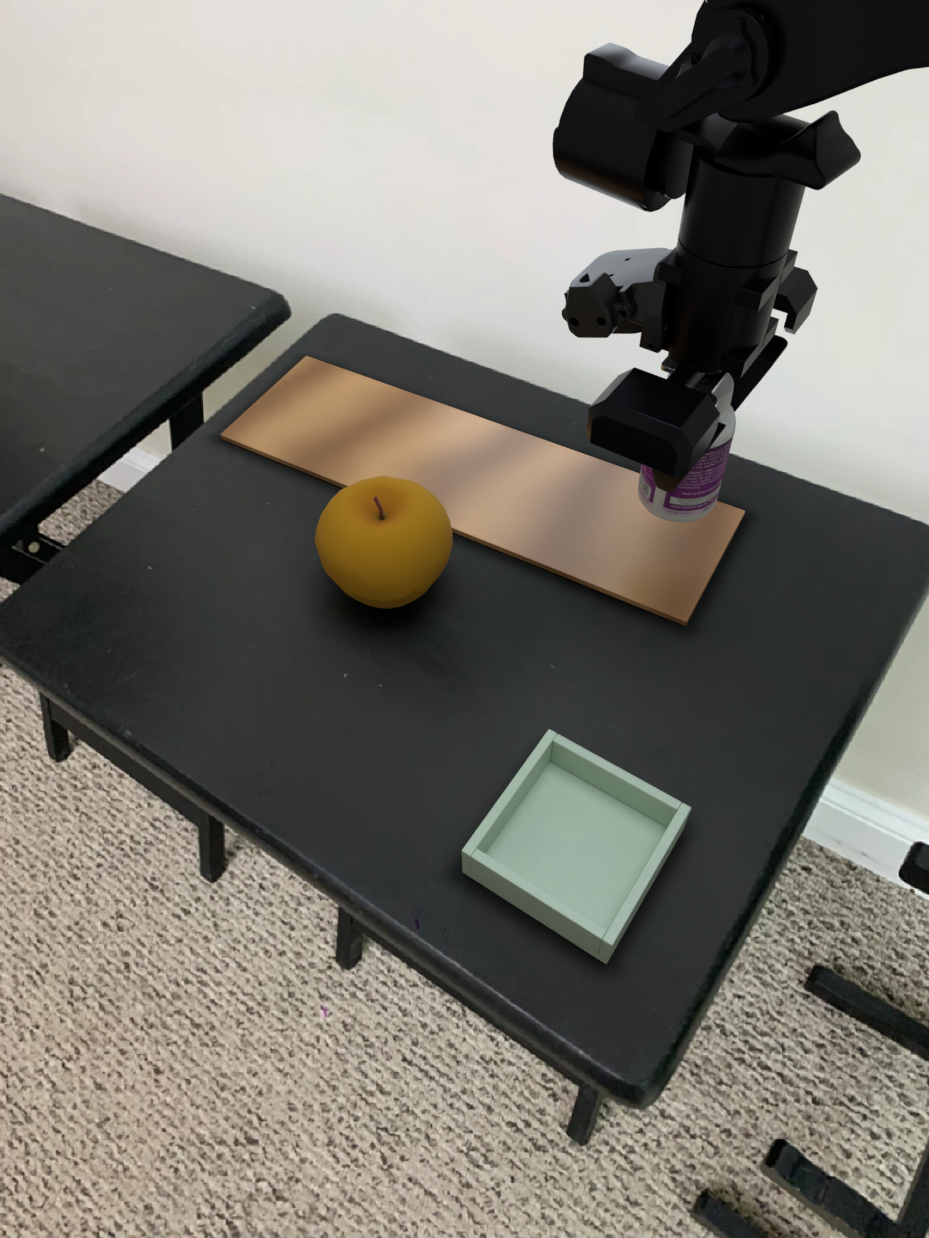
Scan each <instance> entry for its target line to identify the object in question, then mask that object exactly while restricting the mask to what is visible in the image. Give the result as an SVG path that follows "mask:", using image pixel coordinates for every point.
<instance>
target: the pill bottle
mask: <svg viewBox="0 0 929 1238" xmlns="http://www.w3.org/2000/svg"><path fill="white" fill-rule="evenodd" d="M670 375H671V373H668V374H667V376H666V379H667V378H668V377H669V376H670ZM733 389H734V382H733V379H732V377H731V375H730V374H728V375H727V376H726V377H725V379H724V380H723V381H722V382H721V384H720V385H719V386H718V387H717V389H716V390H715V391H714V392H713V395H715V396H716V398H717V400H718V402H717V406H716V408H717V409H718V411H719V413H720V417H719V421H718V422H720V423H723V424H726V427H725V429H724V430H723V432H722V433H721V434H720V435H719V437H718V438H717V439H716V441H715V442H714V443H713V445H712V446H711V447H710V449H709V450H708V451H707V452H706V453H705V454H704V455H703V457H702V458H701V459H700V460H699V461H698V462H697V464H696V465H695V466H694V467H693V468H692V469H691V471H690V472H689V473H688V475H686V476H685V478H684V479H683V480H682V481H681V482H680V483H679V485H678V486H677V487H676V488H675V489H674V491H673V492H672V493H668V492H666V491H663V490H661V489H659V488H657V487H656V484H655V480H654V476H653V473H652V469H651V468H650V467H648V466H645V465H643V464H640V471H639V473H640V476H639V483H638V496H639V499H640V501H641V503H642V504H643V505H644V507H645V508H646V509H647V510H648V511H649V512H650V513H651V514H653V515H655V516H656V517H659V518H661V519H663V520H667V521H672V522H690V521H695V520H697V519H700V518H703V517H704V516H705V515H707V514H708V513H709V512H710V511H711V510H712V509H713V507H714V506H715V504H716V501H718V498H719V494H720V491H721V486H722V482H723V478H724V474H725V470H726V467H727V463H728V459H729V456H730V455H729V454H730V451H731V447H732V443H733V439H734V436H735V432H736V426H737V417H736V412H735V413H734V410H733V408H732V406H731V405H730V403H731V399H732V394H733Z"/></svg>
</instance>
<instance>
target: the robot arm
mask: <svg viewBox="0 0 929 1238" xmlns="http://www.w3.org/2000/svg"><path fill="white" fill-rule="evenodd" d="M690 39H691V40H690V42H689V44H687V46H686V47H685V48H684V49H683V50H682V51H681V53H680V54H679V55H678V56H677V57H676V58H675V59H674V60H673V62H672V63H671V64H670V65H667V64H664V63H662V62H659V61H656V60H653V59H649V58H646V57H644V56H641V55H638V54H636V52H634V51H632V50H631V49H629V48H628V47H626V46H623V45H620V44H616V43H613V42H607V43H605V44H603V45H601V46H599V47H596V48H595V49H593V50H591V51H589V52H587V53H586V54H585V55H583V62H582V63H583V65H582V66H583V67H582V77H581V78H580V79H579V80H578V82H577V83H576V85H575V86H574V87H573V89H572V90H571V92H570V94H569V96H568V98H567V100H566V101H565V104H564V106H563V108H562V112H561V114H560V117H559V119H558V120H559V122H558V126H556V127H555V128H554V130H553V135H552V143H551V144H552V145H551V146H552V159H553V162H554V165H555V166H554V167H555V168H556V170H557V172H558V174H559V175H560V176H561V177H563V178H564V179H566V180H568V181H571V182H573V183H575V184H578V185H580V186H583V187H585V188H588V189H591V191H592V190H593V191H595V192H597V193H600V194H602V195H605V196H607V197H609V198H611V199H614V200H617V201H619V202H622V203H624V204H627V205H628V206H631V207H633V208H636V209H639V210H641V211H644V212H648V213H653V212H656V211H659V210H661V209H663V208H664V207H665V206H667V204H668V203H669V202H670V201H672V200H677V199H680V198H682V196H684V199H683V205H682V211H681V217H680V224H679V228H678V229H679V230H678V235H677V241H676V246H675V247H674V248H672V249H669V248H667V247H652V248H651V247H650V248H633V249H617V250H611V251H607V252H605V253H602V254H600V255H599V256H597V257H596V258H595V259H593V260H592V261H591V262H590V263H589V264H588V265H587V266H586V267H585V268H584V269H583V270H582V271H580V273H579V274H577V276H575V277H574V278H573V279H572V280H571V282H570V284H569V286H568V289H567V290H566V291H565V292H564V293H563V296H564V299H565V300H564V301H565V306H564V307H563V309H562V310H561V317H562V319H563V320H564V321H565V322H566V323H567V327H568V330H569V332H570V333H571V334H572V335H573V336H575V337H576V338H579V339H607V338H609V337H610V336H611V335H634V334H640V338H639V343H638V344H639V345H638V346H639V348H641V349H645V350H647V351H650V352H653V353H656V354H660V353H661V352H662V351H665V352H668V353H667V356H666V357H665V358H664V359H663V361H662V362H661V364H660V371H663V372H665V373H668V374H669V373H671V375H670V376H669V377H668V378H667V377H666V378H665V377H662V376H659V375H656V374H654V373H651V372H648V371H646V370H643V369H642V368H641V369H640V368H638V367H635V366H634V367H632V368H630V369H628V370H626V371H624V372H622V373H620V374H618V375H617V376H616V377H615V378H614V379H613V380H612V381H611V382H610V383H609V385H607V387H606V388H605V389H604V390H603V391H602V392H601V393H600V394H599V396H597V398H596V399H595V400H594V401H593V402H592V403H591V404H590V405H589V407H588V412H587V421H586V431H585V435H586V437H587V440H588V442H589V444H591V445H594V446H595V447H599V448H600V449H604V450H606V451H609V452H612V453H614V454H616V455H618V456H621V457H623V458H626V459H628V460H631V461H633V462H635V463H638V464H640V465H642V464H643V465H645V466H648V467H650V468H651V469H652V473H653V476H654V480H655V484H656V487H657V488H659V489H661V490H663V491H666V492H668V493H672V492H673V491H674V489H675V488H676V487H677V486H678V485H679V483H680V482H681V481H682V480H683V479H684V478H685V476H686V475H688V473H689V472H690V471H691V469H692V468H693V467H694V466H695V465H696V464H697V462H698V461H699V460H700V459H701V458H702V457H703V455H704V454H705V453H706V452H707V451H708V450H709V449H710V447H711V446H712V445H713V443H714V442H715V441H716V439H717V438H718V437H719V435H720V434H721V433H722V432H723V430H724V429H725V427H726V424H723V423H720V422H718V421H719V417H720V413H719V411H718V409H717V408H716V406H717V402H718V400H717V398H716V396H715V395H713V392H714V391H715V390H716V389H717V387H718V386H719V385H720V384H721V382H722V381H723V380H724V379H725V377H726V376H727V375H728V374H730V375H731V377H732V379H733V382H734V389H733V394H732V399H731V403H730V405H731V406H732V408H733V410H734V413H735V414H736V412H737V410H738V409H739V408H740V407H741V405H742V404H743V403H744V401H745V400H746V399H747V398H748V397H749V395H750V394H751V393H752V392H753V390H754V389H755V388H756V387H757V386H758V385H759V384H760V382H761V381H762V380H763V378H765V376H766V375H767V373H768V372H769V371H770V370H771V369H772V367H773V366H774V364H775V363H776V362H777V361H778V359H779V358H780V357H781V355H782V354H783V353H784V352H785V350H786V349H787V347H788V346H789V341H788V340H787V339H786V338H785V337H783V336H780V335H778V334H776V332H777V329H778V325H779V322H780V318H778V317H775V316H772V312H773V310H775V311H779V312H782V313H785V314H786V317H785V322H784V324H783V330H784V332H785V333H788V334H791V335H796V333H797V332H798V330H799V329H800V328H801V327H802V325H803V324H804V323H805V321H806V320H807V319H808V318H809V316H810V315H811V311H812V308H813V306H814V302H815V299H816V296H817V292H818V290H819V288H818V286H817V284H816V282H815V281H814V279H813V277H812V276H811V274H810V272H809V270H808V269H804V268H801V267H797V266H795V265H796V260H797V257H798V254H799V251H798V250H795V249H791V248H790V246H791V243H792V239H793V236H794V231H795V228H796V225H797V220H798V217H799V213H800V209H801V206H802V203H803V198H804V195H805V191H806V188H809V189H811V190H814V191H821V190H823V189H824V188H825V187H827V186H828V185H829V184H832V182H834V181H835V180H837V179H838V178H839V177H840V176H842V175H843V174H845V173H846V172H848V171H849V170H851V169H852V168H853V167H854V166H856V165H858V164H859V163H860V161H861V158H862V153H861V151H860V149H859V147H858V146H857V144H856V143H855V141H854V139H853V138H852V137H851V135H849V134H848V132H846V130H845V128H844V127H843V125H842V123H841V120H840V115H839V113H838V112H837V110H834V109H832V110H829V111H827V112H825V113H824V114H823V115H821V116H819V117H818V118H816V119H815V120H813V121H812V122H808V121H805V120H802V119H799V118H796V117H794V116H791V115H788V114H787V113H790V112H793V111H797V110H801V109H804V108H806V107H811V106H813V105H816V104H819V103H821V102H824V101H827V100H829V99H831V98H832V99H833V98H835V97H837V96H840V95H842V94H844V93H847V92H849V91H852V90H854V89H857V88H859V87H862V86H865V85H867V84H870V83H873V82H875V81H877V80H879V79H880V80H881V79H883V78H886V77H890V76H893V75H895V74H898V73H902V72H905V71H909V70H917V69H926V68H929V0H703V1H702V3H701V5H700V7H699V9H698V11H697V12H696V15H695V19H694V23H693V28H692V31H691V35H690Z"/></svg>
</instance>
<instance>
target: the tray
mask: <svg viewBox="0 0 929 1238" xmlns="http://www.w3.org/2000/svg"><path fill="white" fill-rule="evenodd" d="M691 811H692V807H691V806H690V805H688V804H686V803H685V802H682V801H680V800H679V799H677V798H675V797H673V796H671V795H670V794H668V793H667V792H664V791H663V790H660V789H659V788H657V787H655V786H653V785H652V784H650V783H648V782H646V781H645V780H643V779H640V778H639V777H637V776H635V775H634V774H632V773H630V772H628V771H627V770H624V769H622V768H621V767H619V766H617V765H615V764H613V763H612V762H610V761H608V760H606V759H604V758H603V757H601V756H599V755H598V754H596V753H595V752H592V751H590V750H588V749H587V748H584V747H583V746H581V745H579V744H578V743H576V742H574V741H572V740H571V739H569V738H567V737H565V736H563V735H561V734H559V733H557V732H556V731H554V730H552V729H550V728H549V729H547V731H546V732H545V733H544V735H543V736H542V738H541V739H540V741H539V742H538V744H537V745H536V746H535V747H534V749H533V750H532V752H531V753H530V755H529V756H528V757H527V759H526V760H525V762H524V763H523V764H522V766H521V767H520V769H519V770H518V771H517V773H516V774H515V775H514V777H513V778H512V779H511V780H510V782H509V784H508V785H507V786H506V788H505V789H504V791H503V792H502V793H501V795H500V796H499V798H498V799H497V800H496V801H495V803H494V804H493V806H492V807H491V809H490V810H489V812H488V813H487V814H486V816H485V817H484V819H482V821H481V823H480V824H479V825H478V827H477V828H476V830H475V831H474V833H473V834H472V835H471V836H470V838H469V839H468V841H467V842H466V844H465V845H464V846H463V847H462V849H461V866H462V867H461V868H462V870H461V871H462V873H463V874H464V875H466V876H467V877H469V878H471V879H472V880H474V881H475V882H477V883H478V884H480V885H482V886H483V887H484V888H486V889H488V890H490V891H491V892H492V893H494V894H495V895H497V896H499V897H500V898H501V899H503V900H505V901H506V902H508V903H510V904H511V905H513V906H514V907H516V908H517V909H519V910H521V911H522V912H523V913H525V914H527V915H528V916H529V917H531V918H533V919H534V920H536V921H538V922H539V923H541V924H542V925H544V926H546V927H547V928H549V929H550V930H551V931H553V932H555V933H556V934H558V935H559V936H561V937H562V938H564V939H565V940H568V941H569V942H570V943H572V944H573V945H575V946H576V947H578V948H579V949H581V950H582V951H584V952H586V953H587V954H589V955H590V956H592V957H594V958H595V959H597V960H599V961H600V962H601V963H603V964H605V965H607V964H608V963H609V961H610V960H611V958H612V956H613V955H614V952H615V950H616V949H617V946H618V945H619V943H620V941H621V940H622V938H623V936H624V935H625V933H626V931H627V929H628V928H629V926H630V924H631V922H632V920H633V919H634V917H635V915H636V914H637V912H638V910H639V908H640V906H641V905H642V903H643V901H644V899H645V898H646V896H647V894H648V893H649V891H650V889H651V887H652V886H653V884H654V883H655V880H656V879H657V877H658V876H659V873H660V872H661V870H662V868H663V867H664V864H665V863H666V861H667V859H668V858H669V856H670V854H671V852H672V851H673V849H674V848H675V845H676V844H677V842H678V841H679V838H681V835H682V834H683V831H684V829H685V827H686V824H687V821H688V818H689V816H690V814H691Z"/></svg>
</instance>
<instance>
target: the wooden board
mask: <svg viewBox="0 0 929 1238" xmlns="http://www.w3.org/2000/svg"><path fill="white" fill-rule="evenodd" d="M219 438H220V439H221V440H222V441H225V442H227V443H229V444H232V445H235V446H237V447H240V448H242V449H245V450H247V451H249V452H252V453H255V454H257V455H259V456H262V457H265V458H267V459H269V460H272V461H275V462H277V463H278V464H282V465H284V466H287V467H289V468H292V469H293V470H297V471H299V472H302V473H304V474H306V475H309V476H311V477H314V478H317V479H319V480H322V481H324V482H327V483H329V484H331V485H333V486H337V487H338V488H341V489H344V488H346V487H348V486H350V485H352V484H354V483H357V482H359V481H361V480H364V479H369V478H373V477H378V476H387V477H393V478H399V479H405V480H411V481H413V482H415V483H418V484H419V485H421V486H422V487H424V488H425V489H427V490H428V491H430V492H431V493H432V494H433V495H434V496H435V497H436V498H437V499H438V500H439V501H440V503H441V504H442V505H443V506H444V508H445V510H446V513H447V515H448V517H449V520H450V524H451V528H452V534H455V535H457V536H460V537H464V538H466V539H469V540H471V541H473V542H476V543H478V544H480V545H483V546H485V547H488V548H491V549H493V550H496V551H498V552H499V553H503V554H505V555H507V556H510V557H513V558H515V559H518V560H520V561H523V562H525V563H528V564H531V565H532V566H535V567H538V568H540V569H542V570H545V571H548V572H550V573H551V574H555V575H557V576H560V577H562V578H565V579H568V580H570V581H572V582H575V583H577V584H580V585H582V586H585V587H587V588H590V589H591V590H595V591H597V592H599V593H602V594H604V595H607V596H610V597H612V598H614V599H617V600H620V601H622V602H625V603H627V604H629V605H632V606H635V607H637V608H638V609H642V610H644V611H647V612H649V613H652V614H654V615H657V616H659V617H662V618H664V619H666V620H669V621H671V622H674V623H677V624H679V625H682V626H684V627H686V626H687V625H688V623H689V622H690V619H691V617H692V615H693V614H694V612H695V610H696V608H697V606H698V604H699V602H700V600H701V599H702V596H703V595H704V592H705V591H706V589H707V587H708V585H709V583H710V581H711V580H712V578H713V576H714V574H715V572H716V570H717V568H718V566H719V564H720V563H721V561H722V558H723V556H724V555H725V553H726V551H727V549H728V547H729V545H730V544H731V542H732V540H733V537H734V536H735V534H736V532H737V530H738V528H739V526H740V524H741V523H742V521H743V519H744V517H745V515H746V510H745V509H742V508H738V507H736V506H733V505H730V504H727V503H725V502H721V501H719V500H717V501H716V504H715V506H714V507H713V509H712V510H711V511H710V512H709V513H708V514H707V515H705V516H704V517H703V518H700V519H697V520H695V521H690V522H672V521H667V520H663V519H661V518H659V517H656V516H655V515H653V514H651V513H650V512H649V511H648V510H647V509H646V508H645V507H644V505H643V504H642V503H641V501H640V499H639V496H638V483H639V476H640V472H637V471H634V470H631V469H628V468H626V467H623V466H619V465H618V464H614V463H611V462H609V461H605V460H603V459H601V458H597V457H594V456H592V455H590V454H586V453H583V452H580V451H577V450H574V449H572V448H569V447H566V446H563V445H561V444H558V443H554V442H552V441H550V440H547V439H543V438H540V437H537V436H536V435H532V434H529V433H527V432H524V431H521V430H518V429H514V428H512V427H509V426H507V425H504V424H501V423H498V422H495V421H492V420H490V419H487V418H485V417H482V416H478V415H476V414H473V413H470V412H467V411H464V410H461V409H459V408H456V407H453V406H450V405H447V404H445V403H442V402H439V401H436V400H433V399H430V398H428V397H425V396H422V395H419V394H416V393H413V392H410V391H408V390H404V389H403V388H399V387H396V386H393V385H390V384H388V383H385V382H382V381H380V380H376V379H374V378H371V377H368V376H365V375H362V374H360V373H358V372H357V373H356V372H354V371H351V370H348V369H345V368H342V367H339V366H337V365H334V364H332V363H328V362H326V361H323V360H320V359H317V358H315V357H312V356H308V355H305V356H304V357H303V358H301V359H300V360H299V362H298V363H296V364H295V365H294V366H293V367H292V368H291V369H290V370H289V371H288V372H286V373H285V374H284V375H283V376H282V377H281V378H280V379H279V380H277V381H276V383H274V385H272V386H271V387H270V388H269V389H268V390H267V391H266V392H265V393H263V394H262V396H260V397H259V398H258V399H257V400H256V401H255V402H254V403H253V404H252V405H251V406H249V408H247V409H246V410H245V411H244V412H243V413H242V414H240V416H239V417H237V418H236V419H235V420H234V421H233V422H232V423H231V424H230V425H229V426H228V427H226V428H225V429H224V430H222V432H221V433H220V434H219Z"/></svg>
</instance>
